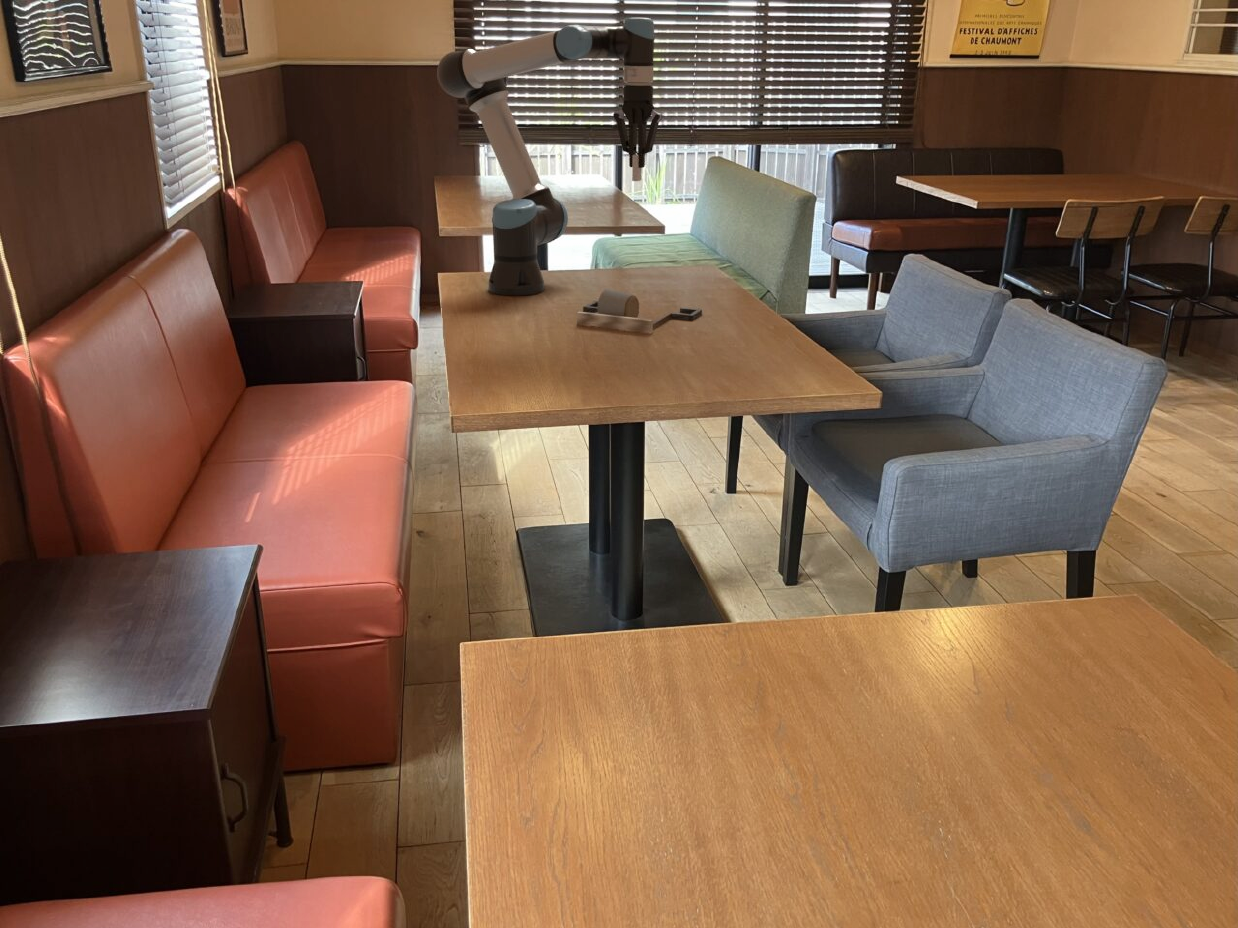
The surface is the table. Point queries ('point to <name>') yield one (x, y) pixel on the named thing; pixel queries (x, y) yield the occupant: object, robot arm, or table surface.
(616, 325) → the frame with square trays
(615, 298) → the ceramic mug
